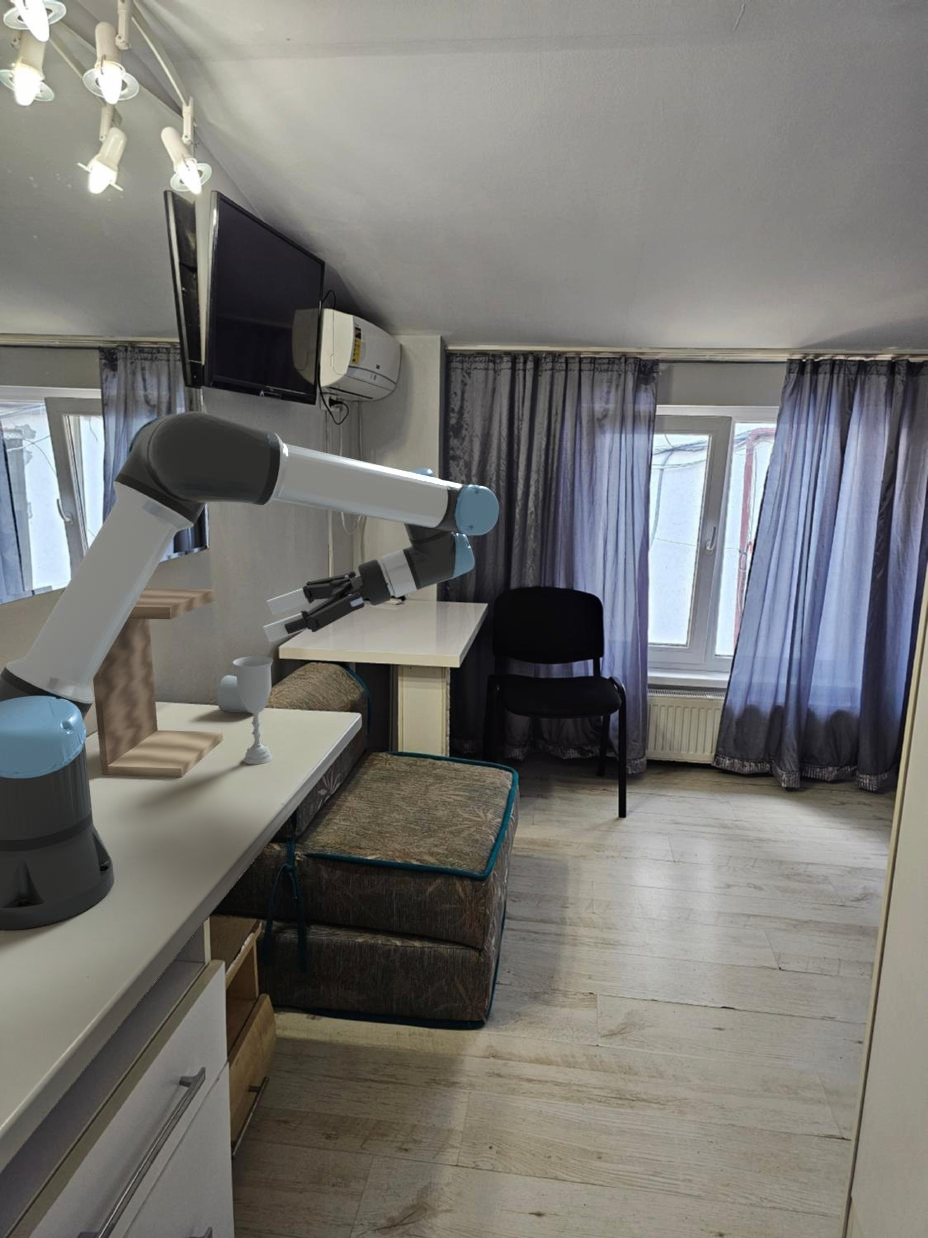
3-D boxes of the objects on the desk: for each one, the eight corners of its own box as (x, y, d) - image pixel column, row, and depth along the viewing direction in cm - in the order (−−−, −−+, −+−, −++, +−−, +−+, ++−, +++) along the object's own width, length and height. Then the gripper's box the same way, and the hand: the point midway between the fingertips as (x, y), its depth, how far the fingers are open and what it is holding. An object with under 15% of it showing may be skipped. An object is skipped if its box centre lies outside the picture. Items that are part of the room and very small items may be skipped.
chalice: (235, 754, 139) (230, 658, 135) (274, 749, 141) (269, 654, 138) (241, 769, 132) (235, 668, 128) (280, 763, 135) (276, 664, 131)
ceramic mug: (253, 718, 159) (252, 682, 158) (216, 715, 160) (214, 680, 159) (274, 703, 169) (272, 670, 168) (239, 701, 170) (237, 668, 169)
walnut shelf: (181, 776, 129) (169, 607, 123) (101, 774, 130) (86, 605, 124) (223, 739, 146) (214, 589, 140) (152, 737, 147) (140, 588, 142)
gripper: (401, 621, 122) (274, 667, 120) (386, 577, 145) (278, 616, 143) (386, 579, 119) (255, 625, 117) (372, 541, 142) (263, 580, 140)
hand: (268, 620), depth 130 cm, fingers open, 13 cm apart
